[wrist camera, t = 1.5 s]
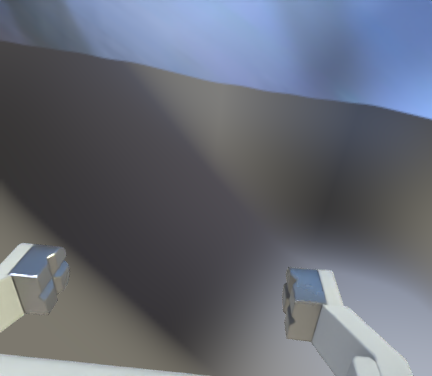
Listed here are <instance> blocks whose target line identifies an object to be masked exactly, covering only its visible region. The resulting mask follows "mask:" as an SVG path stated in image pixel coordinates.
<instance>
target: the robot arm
mask: <svg viewBox="0 0 432 376" xmlns="http://www.w3.org/2000/svg"><path fill="white" fill-rule="evenodd" d="M66 256H67V255H66V251H65V248H62V247H56V246H47V245H39V244H27V243H22V244H19V245H18V246H17V247H16V248H15V249H14V250H13V251H12V253H10V255H9V256H8V257H7V258H6V259H5V260H4V261H3V262H2V263H1V264H0V332H2V331H3V330H5V329H6V328H7V327H9V326H10V325H11V324H13V323H14V322H15V321H17V320H18V319H19V318H21V317H22V316H24V314H25V313H26V314H39V315H49V313H50V312H51V310H52V309H53V307H54V305H55V304H56V302H57V301H58V299H57V294H59V293H60V292H62V291H64V289H65V287H66V286H67V284H68V281H69V277H70V268H69V265H68V264H67V263H66V262H65V261H64V259H65V257H66ZM286 279H287V283H285V284H284V288H283V296H282V304H283V312H284V313H285V314H286V317H285V322H284V323H285V331H286V338H287V339H294V340H301V341H309V342H312V345H313V346H314V347H315V348H316V350H317V351H318V353H319V354H320V355H321V357H322V358H323V360H324V361H325V362H326V363H327V365H328V366H329V368H330V369H331V371H332V372H333V373H334V375H335V376H413V374H412V372H411V369H410V367H409V365H408V363H407V360H406V359H405V358H404V357H402V356H401V355H400V354H399V353H398V352H397V351H396V350H395V349H393V348H392V346H390V345H389V344H388V343H387V342H386V341H385V340H384V339H383V338H381V336H379V335H378V334H377V333H376V332H375V331H374V330H373V329H372V328H371V327H370V326H368V325H367V324H366V323H365V322H364V321H363V320H362V319H361V318H360V317H359V316H358V315H357V314H355V313H354V312H353V311H352V310H351V309H350V308H349V307H344V305H343V302H342V299H341V296H340V293H339V290H338V287H337V284H336V280H335V277H334V274H333V272H332V271H331V270H320V269H317V270H316V269H305V268H292V267H288V269H287V273H286ZM0 376H206V375H197V374H188V373H178V372H168V371H159V370H149V369H140V368H130V367H121V366H111V365H102V364H92V363H83V362H72V361H64V360H54V359H45V358H35V357H25V356H15V355H6V354H0Z"/></svg>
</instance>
